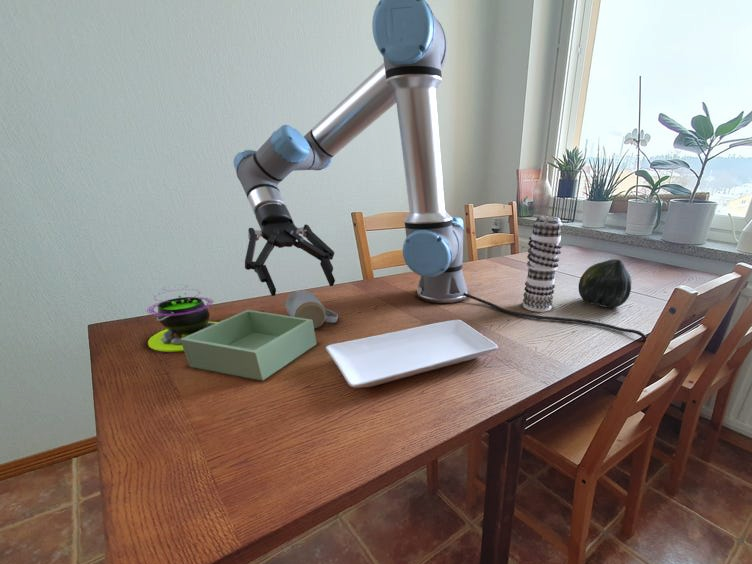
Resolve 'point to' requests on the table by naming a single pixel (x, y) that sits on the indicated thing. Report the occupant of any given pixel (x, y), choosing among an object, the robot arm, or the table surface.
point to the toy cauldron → (179, 321)
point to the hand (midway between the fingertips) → (304, 288)
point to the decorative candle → (542, 263)
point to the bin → (250, 344)
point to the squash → (606, 284)
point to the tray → (408, 352)
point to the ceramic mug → (309, 308)
